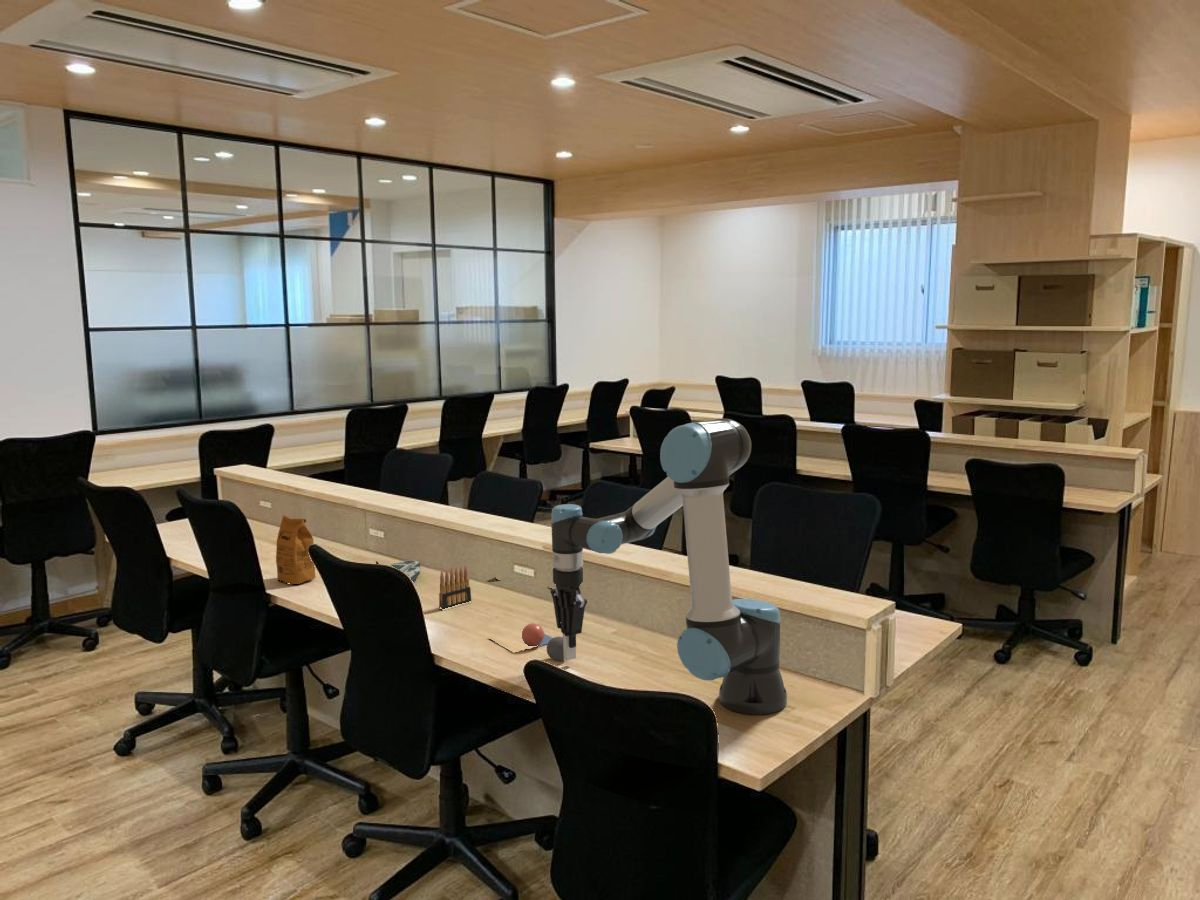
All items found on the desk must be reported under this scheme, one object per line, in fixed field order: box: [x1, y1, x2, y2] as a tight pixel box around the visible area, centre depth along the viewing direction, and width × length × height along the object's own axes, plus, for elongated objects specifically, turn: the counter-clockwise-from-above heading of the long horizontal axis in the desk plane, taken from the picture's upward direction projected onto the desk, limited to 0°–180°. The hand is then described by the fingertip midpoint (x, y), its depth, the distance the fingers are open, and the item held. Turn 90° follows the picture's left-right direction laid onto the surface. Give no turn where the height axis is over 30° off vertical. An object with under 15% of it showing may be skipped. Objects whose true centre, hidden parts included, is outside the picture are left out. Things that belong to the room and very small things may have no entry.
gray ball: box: [546, 636, 565, 661], centre depth 233 cm, size 6×6×6 cm
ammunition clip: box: [438, 564, 472, 609], centre depth 277 cm, size 11×2×12 cm, turn 135°
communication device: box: [375, 560, 422, 584], centre depth 309 cm, size 12×24×9 cm, turn 175°
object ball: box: [522, 622, 545, 646], centre depth 244 cm, size 6×6×6 cm
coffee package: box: [275, 514, 316, 585], centre depth 306 cm, size 10×12×22 cm
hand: (569, 658), depth 230 cm, fingers closed
